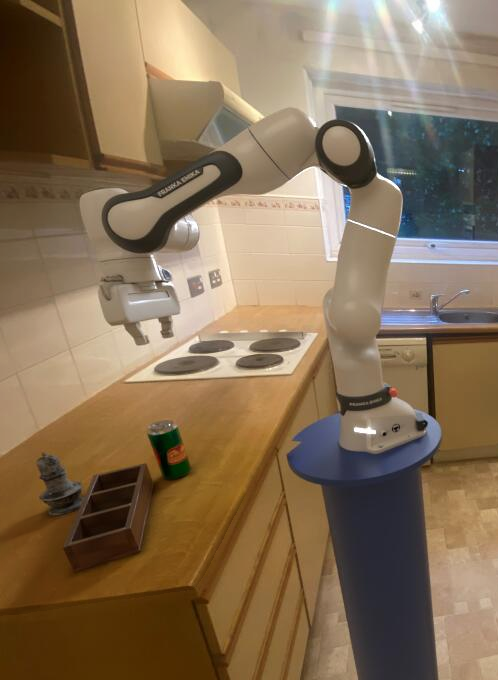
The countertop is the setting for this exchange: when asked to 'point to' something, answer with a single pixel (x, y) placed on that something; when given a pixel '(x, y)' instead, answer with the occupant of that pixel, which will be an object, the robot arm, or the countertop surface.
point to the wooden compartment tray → (110, 518)
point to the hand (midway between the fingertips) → (156, 341)
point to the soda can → (168, 449)
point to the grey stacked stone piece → (58, 486)
